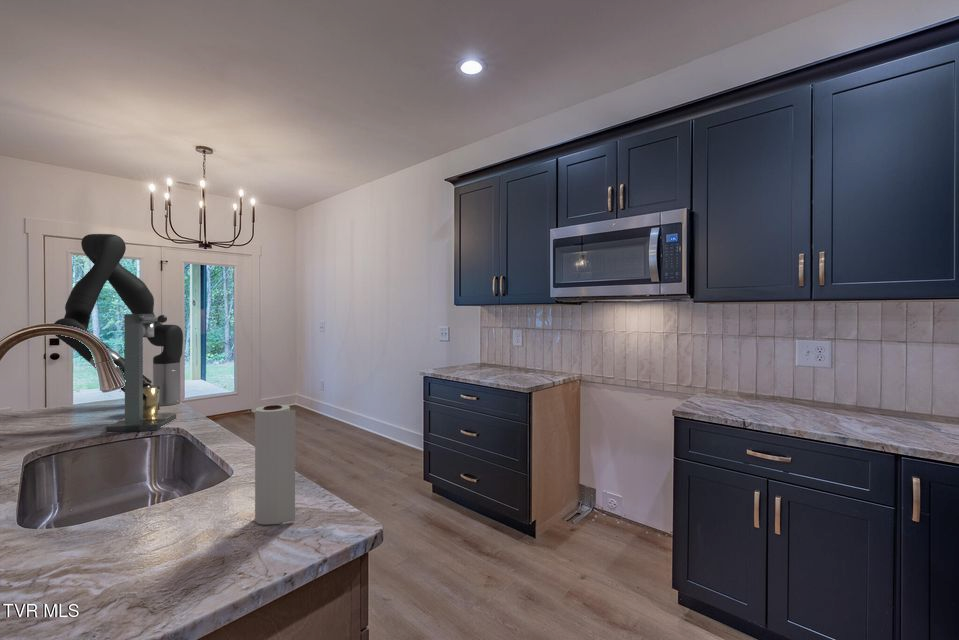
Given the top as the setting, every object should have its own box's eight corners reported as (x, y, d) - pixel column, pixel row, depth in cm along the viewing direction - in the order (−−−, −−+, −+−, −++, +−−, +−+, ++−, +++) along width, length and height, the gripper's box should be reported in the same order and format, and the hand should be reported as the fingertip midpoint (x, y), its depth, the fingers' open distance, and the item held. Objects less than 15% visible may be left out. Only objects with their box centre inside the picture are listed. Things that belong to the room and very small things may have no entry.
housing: (142, 415, 152) (142, 385, 152) (160, 414, 153) (160, 384, 153) (134, 418, 147) (134, 387, 146) (153, 417, 148) (153, 387, 148)
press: (130, 421, 152) (129, 313, 151) (183, 418, 156) (183, 314, 156) (106, 433, 137) (105, 314, 137) (165, 429, 142) (165, 314, 141)
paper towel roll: (252, 516, 83) (252, 405, 83) (285, 508, 87) (285, 402, 86) (259, 531, 77) (259, 413, 77) (295, 522, 81) (295, 408, 81)
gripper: (108, 358, 141) (150, 392, 144) (131, 354, 154) (168, 385, 158) (89, 375, 139) (131, 409, 143) (113, 369, 153) (151, 400, 156)
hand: (150, 396), depth 150 cm, fingers open, 8 cm apart
